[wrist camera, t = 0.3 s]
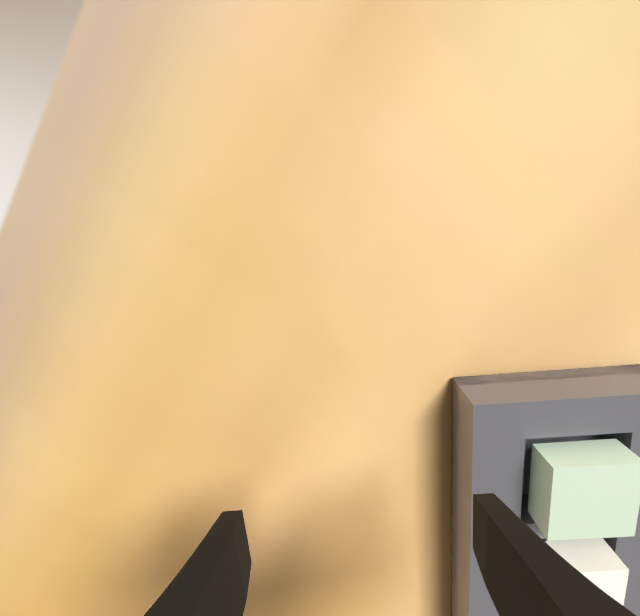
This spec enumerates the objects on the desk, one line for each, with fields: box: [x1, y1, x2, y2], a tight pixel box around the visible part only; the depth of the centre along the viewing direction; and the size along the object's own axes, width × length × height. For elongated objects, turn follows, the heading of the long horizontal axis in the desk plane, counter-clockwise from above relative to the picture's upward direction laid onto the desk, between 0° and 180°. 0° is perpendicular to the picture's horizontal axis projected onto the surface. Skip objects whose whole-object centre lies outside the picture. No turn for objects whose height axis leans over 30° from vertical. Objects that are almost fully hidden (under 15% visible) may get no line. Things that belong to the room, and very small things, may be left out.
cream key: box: [545, 538, 629, 606], centre depth 20 cm, size 4×4×2 cm
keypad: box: [451, 364, 640, 616], centre depth 22 cm, size 21×10×3 cm, turn 5°
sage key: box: [528, 439, 640, 541], centre depth 18 cm, size 4×4×2 cm
